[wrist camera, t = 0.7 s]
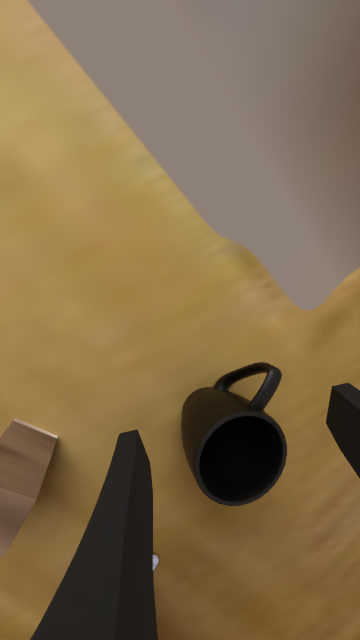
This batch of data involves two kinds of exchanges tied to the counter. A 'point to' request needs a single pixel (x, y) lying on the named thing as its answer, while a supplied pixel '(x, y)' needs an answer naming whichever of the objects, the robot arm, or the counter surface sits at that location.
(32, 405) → the counter surface
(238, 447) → the mug
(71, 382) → the counter surface
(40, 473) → the walnut block
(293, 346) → the counter surface
